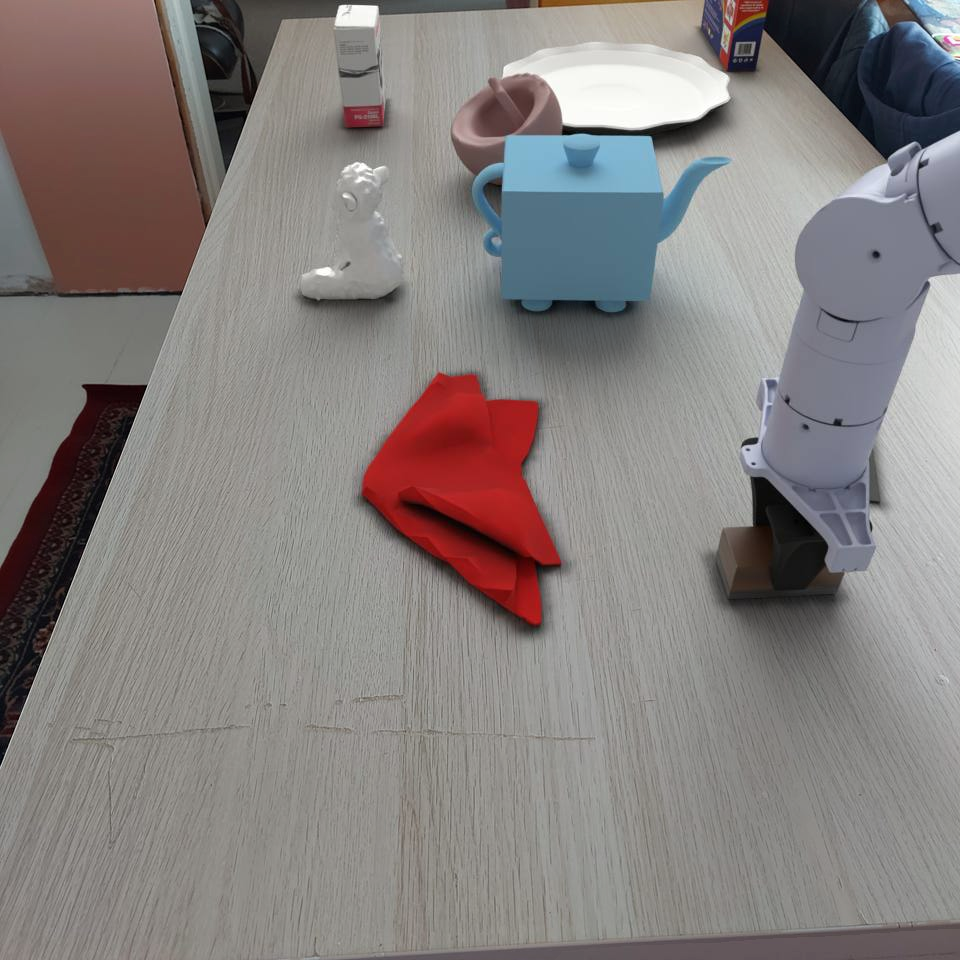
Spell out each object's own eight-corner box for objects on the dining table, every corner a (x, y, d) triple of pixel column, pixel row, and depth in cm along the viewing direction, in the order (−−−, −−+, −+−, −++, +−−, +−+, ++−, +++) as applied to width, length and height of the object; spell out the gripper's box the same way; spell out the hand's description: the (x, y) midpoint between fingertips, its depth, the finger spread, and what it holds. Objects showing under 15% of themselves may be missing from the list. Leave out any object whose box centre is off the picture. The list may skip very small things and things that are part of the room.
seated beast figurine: (353, 251, 91) (339, 132, 82) (428, 271, 88) (421, 149, 79) (297, 297, 85) (275, 173, 76) (375, 320, 82) (361, 194, 73)
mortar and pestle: (434, 170, 104) (429, 66, 96) (526, 148, 107) (528, 46, 100) (483, 214, 96) (481, 104, 88) (580, 189, 100) (587, 81, 92)
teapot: (470, 315, 82) (467, 167, 72) (476, 252, 90) (474, 112, 80) (717, 318, 81) (746, 169, 71) (701, 254, 89) (725, 113, 80)
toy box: (755, 70, 125) (773, -24, 117) (726, 71, 125) (742, -23, 117) (727, 27, 138) (741, -60, 130) (700, 28, 138) (713, -59, 130)
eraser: (819, 553, 60) (830, 521, 58) (837, 594, 58) (849, 562, 56) (714, 558, 60) (722, 527, 58) (728, 599, 58) (736, 568, 56)
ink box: (384, 127, 113) (375, 25, 104) (344, 128, 113) (332, 26, 104) (387, 100, 119) (378, 2, 111) (349, 101, 119) (337, 3, 111)
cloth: (374, 378, 75) (372, 355, 74) (540, 374, 75) (541, 351, 74) (347, 632, 56) (343, 609, 55) (568, 627, 57) (570, 604, 55)
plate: (451, 107, 117) (450, 88, 115) (585, 45, 133) (586, 28, 131) (644, 170, 103) (646, 149, 101) (769, 92, 119) (772, 73, 117)
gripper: (725, 320, 54) (692, 485, 63) (800, 490, 43) (747, 658, 53) (842, 315, 54) (792, 480, 64) (945, 483, 44) (867, 651, 53)
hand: (779, 561), depth 58 cm, fingers closed on eraser, 3 cm apart
